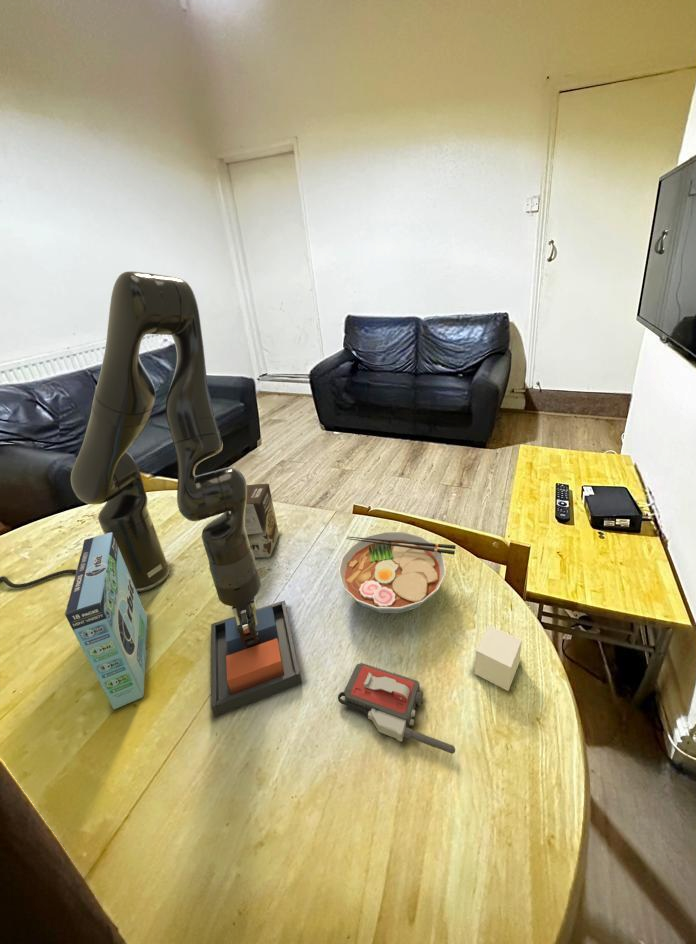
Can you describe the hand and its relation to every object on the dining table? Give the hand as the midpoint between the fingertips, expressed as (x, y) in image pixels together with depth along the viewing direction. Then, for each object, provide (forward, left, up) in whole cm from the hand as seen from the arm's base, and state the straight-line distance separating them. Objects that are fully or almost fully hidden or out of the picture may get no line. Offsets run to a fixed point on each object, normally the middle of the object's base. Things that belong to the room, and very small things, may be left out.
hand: (253, 637), depth 80 cm
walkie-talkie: (+21, -23, -1) cm, 31 cm away
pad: (0, -8, 0) cm, 8 cm away
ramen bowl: (+30, +1, -1) cm, 30 cm away
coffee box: (+5, +29, -1) cm, 29 cm away
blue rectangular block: (0, 0, 0) cm, 1 cm away
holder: (0, -3, -1) cm, 4 cm away
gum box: (-22, +6, -1) cm, 23 cm away
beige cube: (+40, -23, -1) cm, 46 cm away
